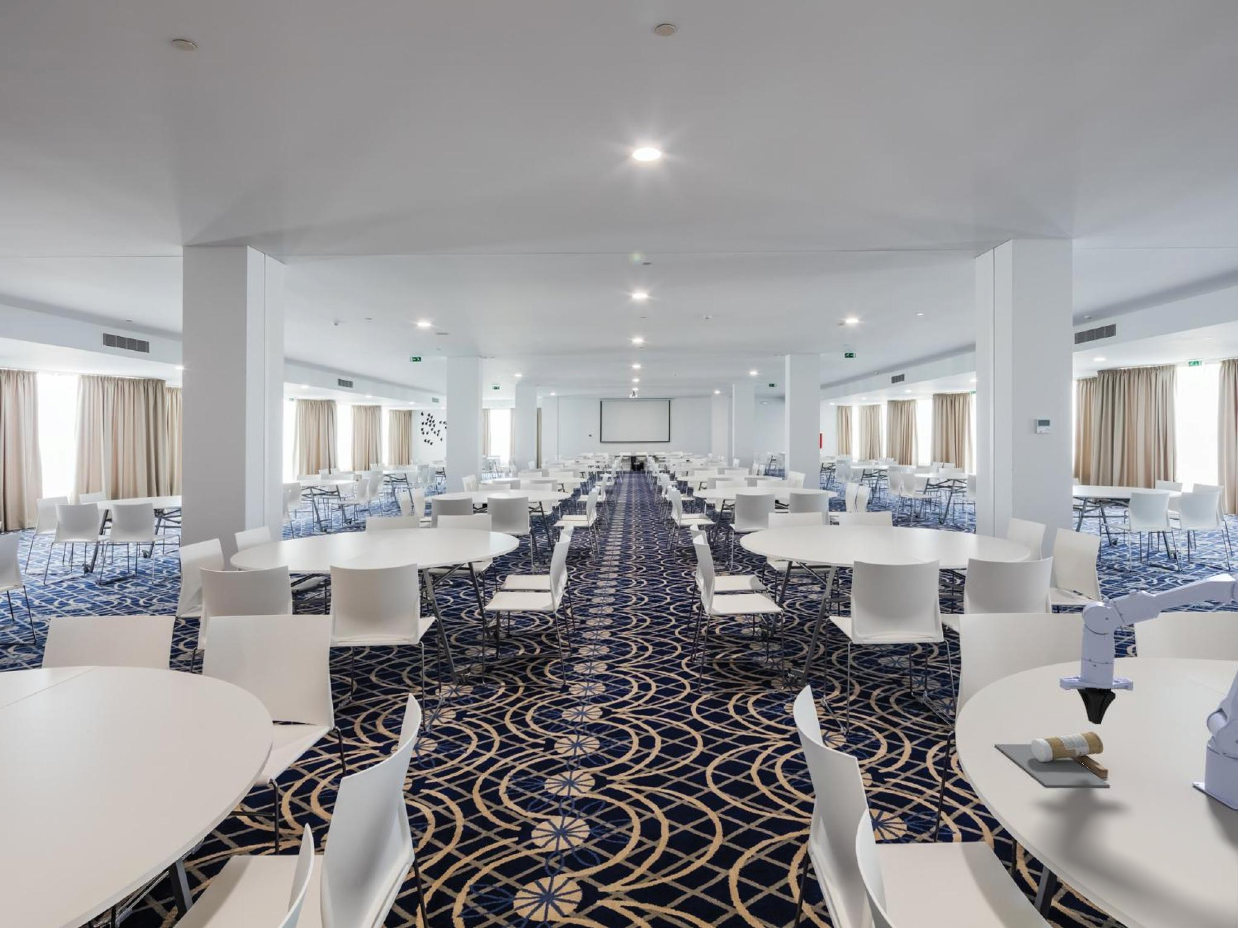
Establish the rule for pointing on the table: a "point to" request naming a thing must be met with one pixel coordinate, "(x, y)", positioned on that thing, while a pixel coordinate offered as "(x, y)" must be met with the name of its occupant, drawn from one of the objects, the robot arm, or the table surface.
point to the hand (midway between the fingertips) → (1094, 722)
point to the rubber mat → (1051, 768)
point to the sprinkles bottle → (1067, 746)
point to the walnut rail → (1093, 765)
